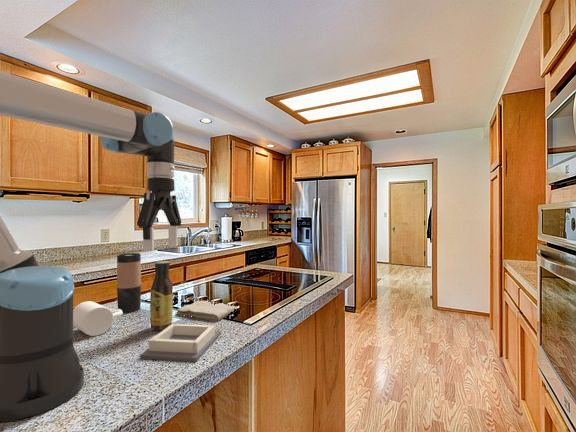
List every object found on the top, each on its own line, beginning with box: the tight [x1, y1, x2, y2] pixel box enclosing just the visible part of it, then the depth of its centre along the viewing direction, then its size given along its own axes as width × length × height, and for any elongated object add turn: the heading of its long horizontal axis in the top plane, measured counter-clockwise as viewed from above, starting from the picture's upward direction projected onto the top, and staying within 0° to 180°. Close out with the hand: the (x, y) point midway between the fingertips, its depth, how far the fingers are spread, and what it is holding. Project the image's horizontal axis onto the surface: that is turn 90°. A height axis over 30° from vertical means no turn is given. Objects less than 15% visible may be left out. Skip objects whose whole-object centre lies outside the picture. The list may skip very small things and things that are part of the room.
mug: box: [73, 300, 124, 337], centre depth 90 cm, size 12×10×8 cm
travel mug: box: [116, 252, 142, 314], centre depth 108 cm, size 8×8×20 cm
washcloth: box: [175, 300, 237, 322], centre depth 104 cm, size 12×18×3 cm, turn 68°
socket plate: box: [139, 323, 222, 362], centre depth 78 cm, size 16×14×3 cm
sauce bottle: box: [149, 260, 174, 332], centre depth 90 cm, size 7×6×20 cm
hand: (161, 248), depth 91 cm, fingers open, 13 cm apart
